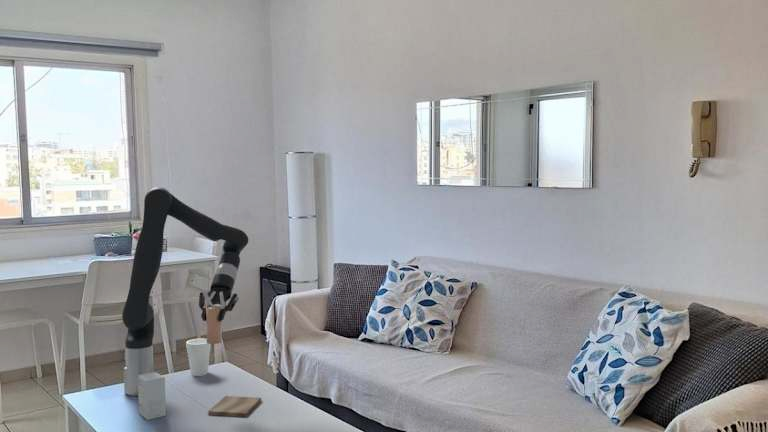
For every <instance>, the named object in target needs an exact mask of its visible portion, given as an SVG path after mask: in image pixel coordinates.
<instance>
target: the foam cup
mask: <svg viewBox="0 0 768 432" xmlns="http://www.w3.org/2000/svg"><path fill="white" fill-rule="evenodd" d="M185 345H186V346H185V349H186V351H187V357H188V358H187V359H188V364H189V369H190V370H189V371H190V375H191V376H193V377H202V376H206V375H207V374H208V371H209V364H210V356H211V355H210V354H211V348H212V344H208V343H207V338H203V337H202V338H192V339H189V340H187V341H186V342H185Z"/></svg>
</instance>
